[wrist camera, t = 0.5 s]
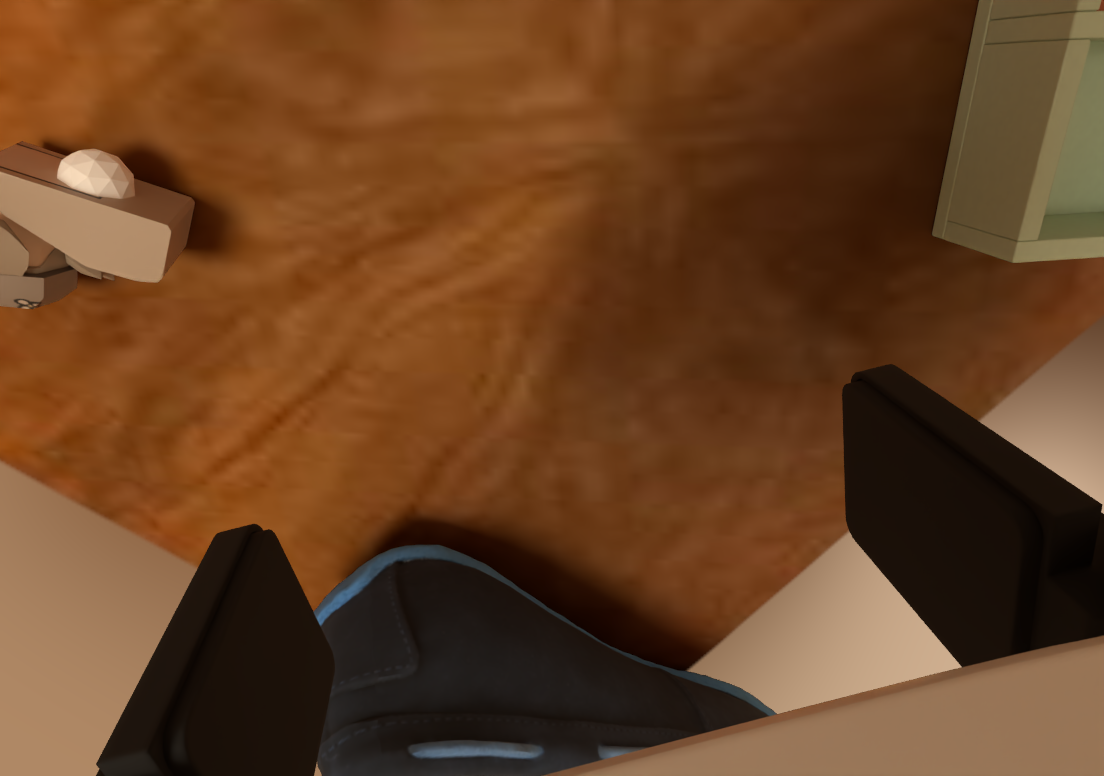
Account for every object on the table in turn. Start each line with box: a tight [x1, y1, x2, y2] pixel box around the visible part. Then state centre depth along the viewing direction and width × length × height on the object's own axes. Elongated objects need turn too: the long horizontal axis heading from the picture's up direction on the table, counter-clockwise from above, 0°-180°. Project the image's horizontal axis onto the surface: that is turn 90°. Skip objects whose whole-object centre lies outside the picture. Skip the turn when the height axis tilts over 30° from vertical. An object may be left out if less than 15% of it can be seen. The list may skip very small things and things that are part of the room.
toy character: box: [0, 141, 195, 309], centre depth 23 cm, size 4×8×6 cm
